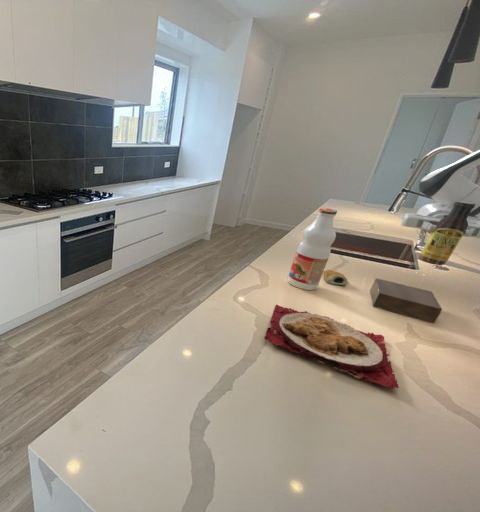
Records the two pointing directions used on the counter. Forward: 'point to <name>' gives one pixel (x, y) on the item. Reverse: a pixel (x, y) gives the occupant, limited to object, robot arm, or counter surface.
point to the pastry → (334, 277)
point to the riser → (405, 300)
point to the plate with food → (332, 344)
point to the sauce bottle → (447, 234)
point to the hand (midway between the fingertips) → (450, 230)
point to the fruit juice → (313, 251)
